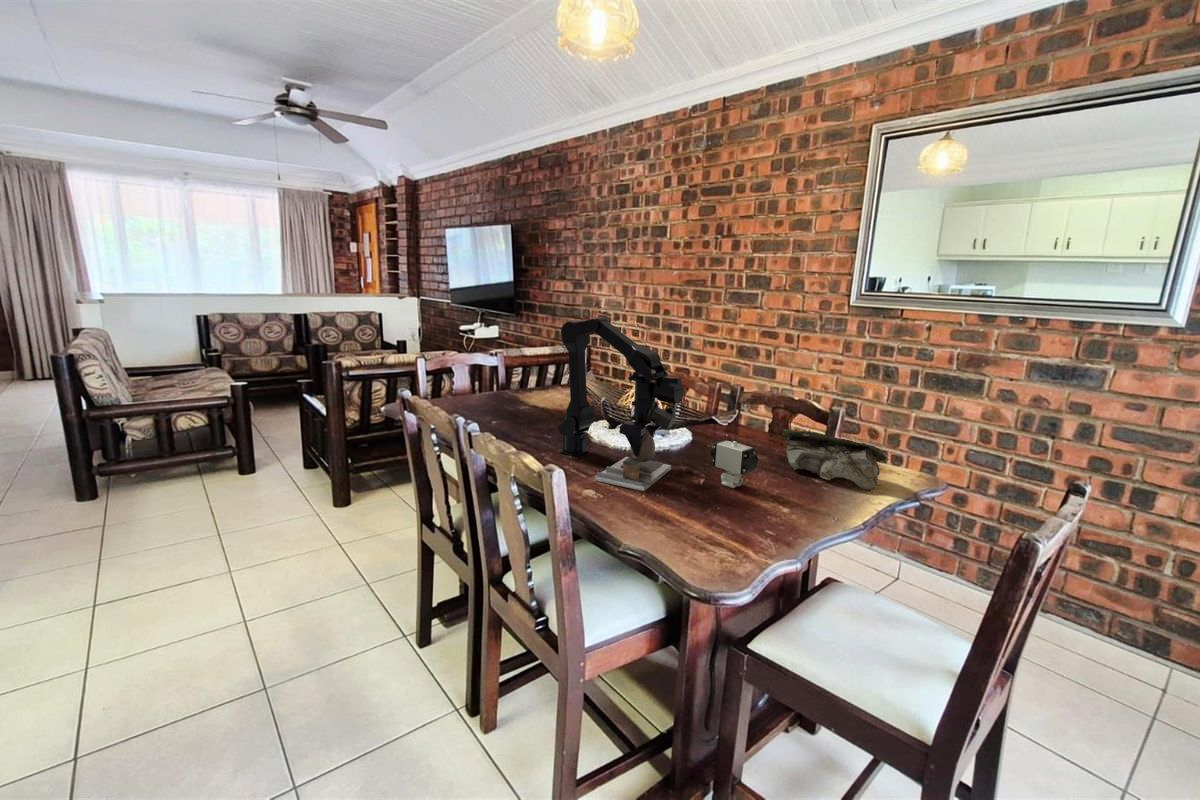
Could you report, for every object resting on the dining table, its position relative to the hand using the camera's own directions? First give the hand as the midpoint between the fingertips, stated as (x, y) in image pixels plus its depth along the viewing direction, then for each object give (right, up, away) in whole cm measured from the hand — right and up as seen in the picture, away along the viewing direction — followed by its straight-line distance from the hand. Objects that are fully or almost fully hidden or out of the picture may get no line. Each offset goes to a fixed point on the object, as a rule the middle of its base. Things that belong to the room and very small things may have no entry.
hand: (642, 452), depth 150 cm
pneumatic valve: (+23, -8, -9) cm, 26 cm away
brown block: (-4, -6, -10) cm, 12 cm away
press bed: (-2, -6, -3) cm, 7 cm away
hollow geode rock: (+52, -7, +1) cm, 52 cm away
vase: (0, -2, 0) cm, 2 cm away
